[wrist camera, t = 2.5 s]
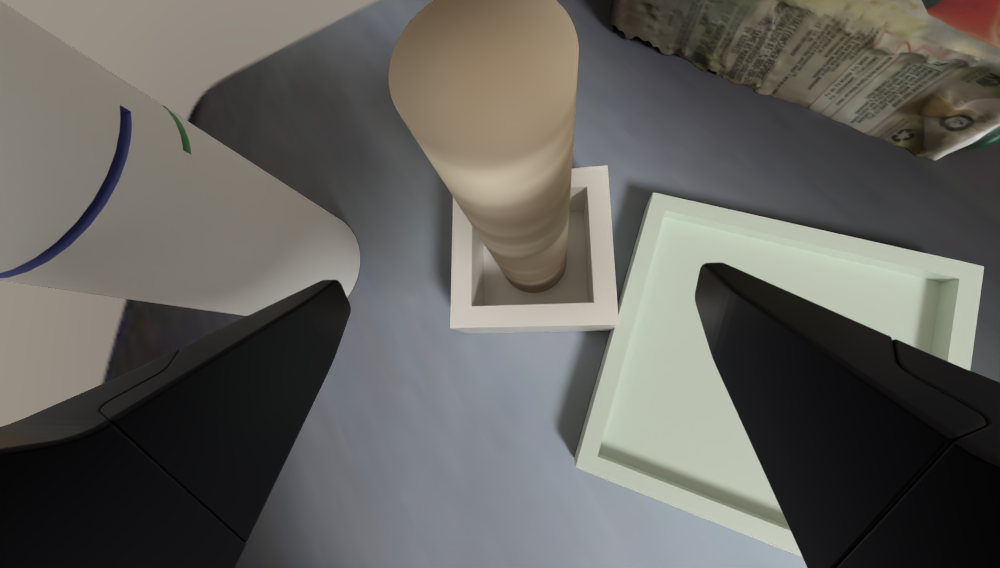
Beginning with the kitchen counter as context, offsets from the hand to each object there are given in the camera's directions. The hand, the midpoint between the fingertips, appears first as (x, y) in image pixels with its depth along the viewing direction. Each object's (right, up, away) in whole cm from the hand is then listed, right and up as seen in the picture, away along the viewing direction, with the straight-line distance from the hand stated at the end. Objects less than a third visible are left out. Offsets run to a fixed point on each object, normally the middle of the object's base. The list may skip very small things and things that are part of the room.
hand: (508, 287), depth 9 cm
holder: (+2, +1, +12) cm, 12 cm away
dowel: (+2, +1, +11) cm, 11 cm away
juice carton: (+17, +15, +12) cm, 26 cm away
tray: (+12, -4, +9) cm, 16 cm away
